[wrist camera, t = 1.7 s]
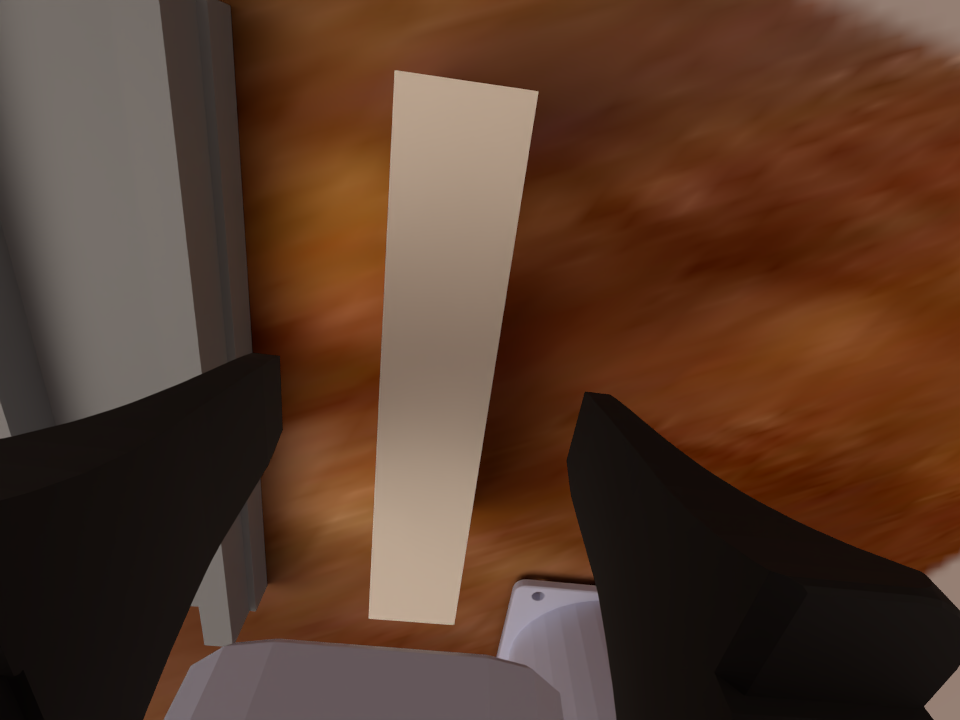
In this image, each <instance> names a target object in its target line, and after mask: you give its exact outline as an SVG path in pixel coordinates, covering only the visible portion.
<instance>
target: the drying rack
mask: <svg viewBox="0 0 960 720" xmlns="http://www.w3.org/2000/svg"><path fill="white" fill-rule="evenodd" d="M251 353H252V338H251V322H250V306H249V291H248V275H247V259H246V243H245V228H244V212H243V196H242V180H241V164H240V149H239V133H238V117H237V101H236V86H235V70H234V54H233V38H232V23H231V7H230V5H228V4H225V3H223V2H221V1H219V0H0V439H2V438H7V437H11V436H16V435H20V434H24V433H28V432H32V431H36V430H40V429H44V428H48V427H52V426H56V425H61V424H65V423H69V422H72V421H76V420H79V419H83V418H86V417H89V416H92V415H96V414H99V413H102V412H105V411H109V410H112V409H115V408H118V407H121V406H124V405H126V404H129V403H132V402H135V401H137V400H140V399H142V398H145V397H147V396H150V395H152V394H155V393H157V392H160V391H162V390H165V389H167V388H170V387H172V386H175V385H177V384H180V383H182V382H184V381H187V380H189V379H191V378H194V377H196V376H198V375H200V374H203V373H205V372H207V371H209V370H212V369H214V368H216V367H218V366H221V365H223V364H225V363H227V362H230V361H232V360H234V359H237V358H239V357H242V356H244V355H247V354H251ZM266 587H267V574H266V559H265V543H264V527H263V511H262V496H261V480H259V481H258V483H257V485H256V487H255V488H254V490H253V492H252V493H251V495H250V497H249V498H248V500H247V501H246V503H245V505H244V506H243V508H242V510H241V511H240V513H239V515H238V516H237V518H236V520H235V521H234V523H233V525H232V526H231V528H230V530H229V531H228V533H227V534H226V536H225V538H224V539H223V541H222V543H221V544H220V546H219V548H218V550H217V552H216V554H215V555H214V557H213V559H212V561H211V563H210V565H209V567H208V569H207V571H206V574H205V576H204V578H203V580H202V582H201V584H200V587H199V589H198V591H197V593H196V595H195V597H194V599H193V602H192V604H191V606H199V611H200V618H201V624H202V631H203V637H204V644H205V645H211V646H226V645H229V644H232V643H235V641H236V639H237V637H238V635H239V633H240V630H241V628H242V626H243V624H244V622H245V619H246V617H247V615H248V613H249V611H256V610H257V608H258V605H259V603H260V601H261V599H262V596H263V594H264V592H265V589H266Z"/></svg>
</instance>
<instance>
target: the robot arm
mask: <svg viewBox="0 0 960 720" xmlns="http://www.w3.org/2000/svg"><path fill="white" fill-rule="evenodd" d="M282 430H283V427H282V402H281V377H280V356H276V355H267V354H259V353H251V354H247V355H244V356H242V357H239V358H237V359H234V360H232V361H230V362H227V363H225V364H223V365H221V366H218V367H216V368H214V369H212V370H209V371H207V372H205V373H203V374H200V375H198V376H196V377H194V378H191V379H189V380H187V381H184V382H182V383H180V384H177V385H175V386H172V387H170V388H167V389H165V390H162V391H160V392H157V393H155V394H152V395H150V396H147V397H145V398H142V399H140V400H137V401H135V402H132V403H129V404H126V405H124V406H121V407H118V408H115V409H112V410H109V411H105V412H102V413H99V414H96V415H92V416H89V417H86V418H83V419H79V420H76V421H72V422H69V423H65V424H61V425H56V426H52V427H48V428H44V429H40V430H36V431H32V432H28V433H24V434H20V435H16V436H11V437H7V438H2V439H0V720H143V719H144V716H145V713H146V711H147V708H148V706H149V703H150V701H151V698H152V696H153V693H154V691H155V689H156V686H157V684H158V681H159V679H160V676H161V674H162V671H163V669H164V666H165V664H166V662H167V659H168V657H169V654H170V652H171V649H172V647H173V645H174V643H175V640H176V638H177V636H178V633H179V631H180V629H181V627H182V624H183V622H184V620H185V617H186V615H187V613H188V611H189V608H190V606H191V604H192V602H193V599H194V597H195V595H196V593H197V591H198V589H199V587H200V584H201V582H202V580H203V578H204V576H205V574H206V571H207V569H208V567H209V565H210V563H211V561H212V559H213V557H214V555H215V554H216V552H217V550H218V548H219V546H220V544H221V543H222V541H223V539H224V538H225V536H226V534H227V533H228V531H229V530H230V528H231V526H232V525H233V523H234V521H235V520H236V518H237V516H238V515H239V513H240V511H241V510H242V508H243V506H244V505H245V503H246V501H247V500H248V498H249V497H250V495H251V493H252V492H253V490H254V488H255V487H256V485H257V483H258V481H259V480H260V478H261V476H262V475H263V473H264V471H265V470H266V468H267V466H268V464H269V462H270V459H271V457H272V455H273V453H274V450H275V448H276V445H277V443H278V440H279V438H280V435H281V433H282ZM567 467H568V476H569V484H570V491H571V497H572V501H573V505H574V508H575V512H576V516H577V519H578V523H579V527H580V530H581V534H582V537H583V541H584V544H585V548H586V551H587V555H588V558H589V562H590V565H591V569H592V572H593V576H594V580H595V584H596V586H595V585H585V584H574V583H563V582H552V581H541V580H530V579H523V580H520V581H518V582H516V583H515V584H514V586H513V590H512V594H511V598H510V602H509V606H508V610H507V615H506V619H505V623H504V627H503V631H502V635H501V640H500V644H499V648H498V652H497V656H496V657H493V656H489V655H481V654H468V653H455V652H442V651H429V650H416V649H403V648H390V647H378V646H365V645H352V644H339V643H326V642H313V641H300V640H287V639H270V640H259V641H248V642H237V643H232V644H229V645H226V646H224V647H222V648H220V649H219V650H217V651H215V652H214V653H212V654H210V655H209V656H207V657H205V658H204V659H202V660H200V661H198V662H197V663H195V664H193V665H192V666H191V667H190V669H189V671H188V673H187V675H186V677H185V679H184V681H183V683H182V685H181V687H180V689H179V690H178V692H177V694H176V696H175V698H174V700H173V702H172V704H171V706H170V708H169V710H168V712H167V714H166V716H165V718H164V720H933V718H932V717H931V716H930V714H929V713H928V712H927V711H926V709H925V708H924V705H926V703H927V702H928V701H929V700H930V699H931V698H932V697H933V695H934V694H935V693H936V692H937V691H938V690H939V689H940V688H941V687H942V685H943V684H944V683H945V682H946V681H947V680H948V679H949V678H950V676H951V675H952V674H953V673H954V672H955V671H956V670H957V668H958V667H959V665H960V610H959V609H958V608H957V607H956V606H955V605H954V604H953V603H952V602H951V601H950V600H949V599H948V598H947V597H946V595H944V593H943V592H941V590H940V589H939V588H938V587H937V586H936V585H935V584H934V583H933V582H932V581H931V580H930V579H929V578H928V577H927V576H926V575H925V574H924V573H922V572H920V571H918V570H915V569H912V568H910V567H907V566H904V565H902V564H899V563H896V562H894V561H891V560H888V559H886V558H883V557H880V556H878V555H875V554H872V553H870V552H867V551H864V550H862V549H859V548H856V547H854V546H851V545H849V544H846V543H844V542H842V541H840V540H837V539H835V538H833V537H831V536H828V535H826V534H824V533H821V532H819V531H817V530H815V529H812V528H810V527H808V526H806V525H804V524H802V523H800V522H798V521H795V520H793V519H791V518H789V517H787V516H785V515H783V514H782V513H780V512H778V511H776V510H774V509H772V508H770V507H768V506H766V505H764V504H763V503H761V502H759V501H757V500H755V499H753V498H752V497H750V496H748V495H746V494H745V493H743V492H741V491H739V490H738V489H736V488H735V487H733V486H731V485H730V484H728V483H727V482H725V481H723V480H722V479H720V478H719V477H717V476H715V475H714V474H712V473H711V472H709V471H708V470H706V469H705V468H703V467H702V466H701V465H699V464H698V463H696V462H695V461H694V460H692V459H691V458H690V457H688V456H687V455H685V454H684V453H683V452H681V451H680V450H679V449H677V448H676V447H675V446H674V445H672V444H671V443H670V442H668V441H667V440H666V439H665V438H663V437H662V436H661V435H660V434H658V433H657V432H656V431H655V430H654V429H652V428H651V427H650V426H649V425H648V424H646V423H645V422H644V421H643V420H642V419H640V418H639V417H638V416H637V415H636V414H634V413H633V412H632V411H631V410H630V409H628V408H627V407H626V406H625V405H623V404H622V403H621V402H620V401H618V400H617V399H616V398H614V397H613V396H611V395H609V394H601V393H592V392H585V393H584V397H583V401H582V405H581V408H580V412H579V416H578V420H577V423H576V427H575V431H574V435H573V438H572V442H571V446H570V450H569V453H568V457H567ZM536 592H537V593H536Z"/></svg>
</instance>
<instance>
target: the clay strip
mask: <svg viewBox="0 0 960 720" xmlns="http://www.w3.org/2000/svg"><path fill="white" fill-rule="evenodd" d="M538 92H539V91H533V90H526V89H519V88H512V87H506V86H499V85H492V84H485V83H478V82H472V81H465V80H458V79H451V78H444V77H437V76H431V75H424V74H417V73H410V72H403V71H397V70H395V75H394V96H393V117H392V138H391V159H390V180H389V201H388V222H387V243H386V264H385V285H384V306H383V327H382V348H381V369H380V390H379V411H378V432H377V453H376V474H375V495H374V516H373V537H372V558H371V579H370V600H369V619H382V620H395V621H408V622H421V623H435V624H448V625H454V622H455V616H456V610H457V604H458V597H459V591H460V585H461V578H462V572H463V566H464V559H465V553H466V547H467V540H468V534H469V528H470V521H471V515H472V509H473V502H474V496H475V490H476V483H477V477H478V471H479V465H480V458H481V452H482V446H483V439H484V433H485V427H486V420H487V414H488V408H489V401H490V395H491V389H492V382H493V376H494V370H495V363H496V357H497V351H498V344H499V338H500V332H501V325H502V319H503V313H504V307H505V300H506V294H507V288H508V281H509V275H510V269H511V262H512V256H513V250H514V243H515V237H516V231H517V224H518V218H519V212H520V205H521V199H522V193H523V186H524V180H525V174H526V168H527V161H528V155H529V149H530V142H531V136H532V130H533V123H534V117H535V111H536V104H537V98H538Z"/></svg>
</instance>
